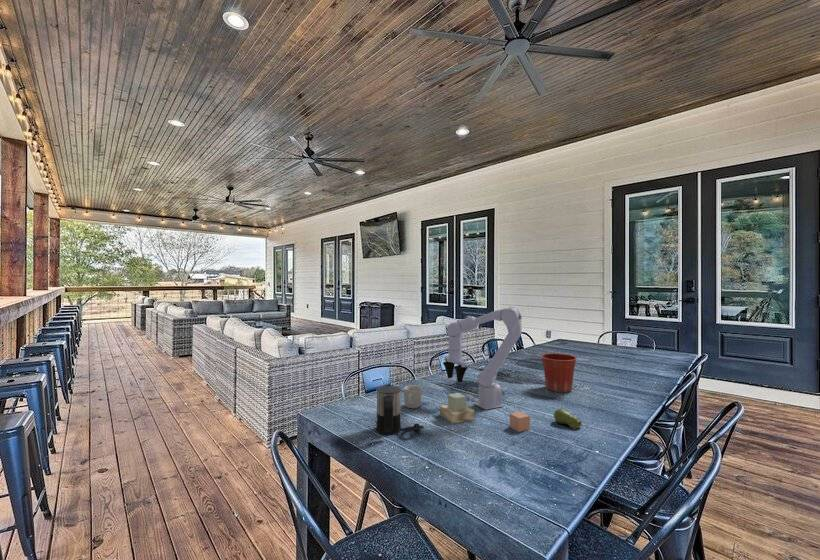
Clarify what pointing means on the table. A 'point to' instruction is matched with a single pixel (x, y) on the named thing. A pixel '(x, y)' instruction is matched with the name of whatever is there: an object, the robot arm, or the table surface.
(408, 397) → the cup
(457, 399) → the sage cube
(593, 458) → the table surface
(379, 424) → the milk frother
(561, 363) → the flower pot
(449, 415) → the base block
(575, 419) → the pear
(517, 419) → the terracotta cube
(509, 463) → the table surface
